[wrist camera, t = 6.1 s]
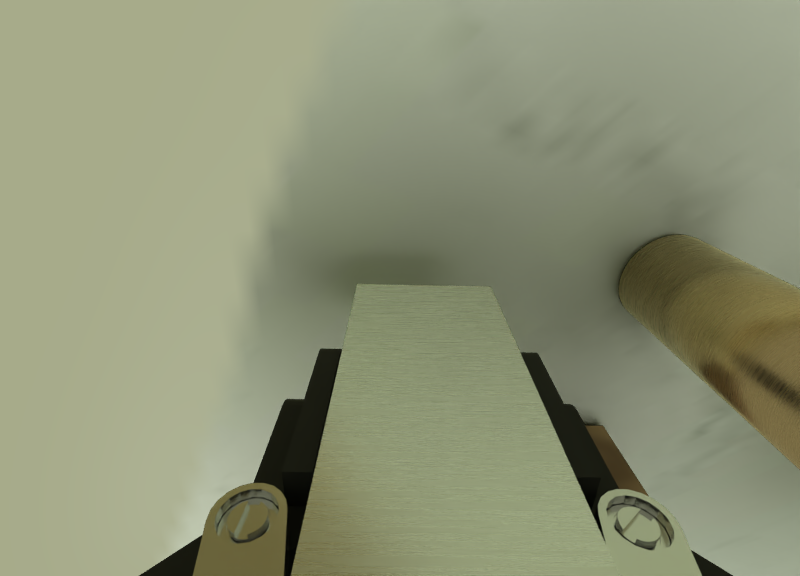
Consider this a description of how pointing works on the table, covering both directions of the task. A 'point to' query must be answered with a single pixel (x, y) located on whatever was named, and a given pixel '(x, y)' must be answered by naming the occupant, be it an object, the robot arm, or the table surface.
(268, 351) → the table surface
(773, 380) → the round peg
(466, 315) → the square peg
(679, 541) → the robot arm
